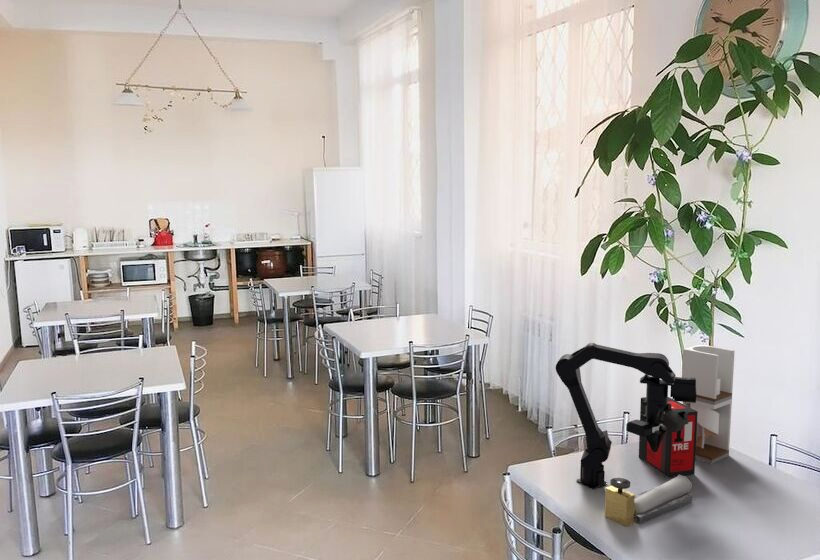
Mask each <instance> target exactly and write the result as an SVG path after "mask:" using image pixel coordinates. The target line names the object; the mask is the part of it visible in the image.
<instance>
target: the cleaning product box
mask: <svg viewBox="0 0 820 560" xmlns="http://www.w3.org/2000/svg"><path fill="white" fill-rule="evenodd" d="M643 401H646V396H645V397H644V396H643V397H640V409H639V410H640V411H639V420H640V421H643V422H647V421H646V420H645V419H642V415H645V414H646V406H645V405H643ZM667 403H671V409H672V410H673V411H674V412H676V411H677V412H678V413H679V412H680V411H686V412H687V413H688V424H686V425H684V428H683V430H682V431H681V430H680V431H677V432H675V433H673V432H671V431H669V432H667V433H666V434H665V435H664V437H663V439H662V441H661V444H660V446H659V449H658V451H657V452H652V450H651V447H650V445H649V443H648V441H647V439H646V437H643V436H639V435H638V440H639V442H638V458H639V459H640V460H641V461H643V462H645V463H646V464H647V465H648V466H650V467H652V468H653V469H654V470H656V471H658V472H659V473H661V474H662V475H663V476H665V477H667V478H668V479H673V478H675V477H677V476H678V475H682V476H685V477H688V476H695V474H696V472H695V471H696V470H695V469H696V459H695V455H696V434H697V414H698V411H696V410H694V409H692V408H690V407H688V406H686V405H684V404H683V402H680V401H674V399H673V398H672V397H669V396H668V402H667Z"/></svg>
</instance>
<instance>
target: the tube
mask: <svg viewBox="0 0 820 560" xmlns="http://www.w3.org/2000/svg"><path fill="white" fill-rule="evenodd" d="M651 489H652V490H651ZM651 489H649V490H650V491H648V490H647V491H648V492H646V493H644V494H642V495H641V496H639V497H637V498H635V501H634V504H635V507H636V513H635V516H634V518H636V515H638V514H641V513H643V512H646V511H648V510H651V509H654V508H656V507H659V506H661V505H664V504H666V503H669V502H671V501H674V500H676V499H679V498H681V496H682V497H683V496H685V495H688V493H690V492H691V491H692V482H691V481H690V480H689V478H688V476H682V475H678V476H677V477H672V478H671V479H669V480H668V481H665V482H664V483H661V484H660V485H657V486H656V487H654V489H653V488H651Z"/></svg>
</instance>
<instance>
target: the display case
mask: <svg viewBox="0 0 820 560" xmlns="http://www.w3.org/2000/svg"><path fill="white" fill-rule="evenodd" d="M681 364H682V365H681V366H682V367H681V377H682V378H696V403H691V402H682V404H684V405H686V406H688V407H690V408H692V409H694V410H696V411H698V414H697V434H696V455H695V460H698V461H702V462H705V463H708V464H710V465H712V464H714V463H716V462H718V461H721V460H722V459H724V458H727V457H729V456H730V442H731V441H730V440H731V427H732V426H731V423H732V421H731V420H732V408H733V407H732V405H733V403H732V401H733V388H734V387H733V386H734V385H733V384H734V369H735V350H734V349H728V348H723V347H718V346H717V347H716V346H712V345H707V344H697V345H693V346H690V347H687V348H682V363H681Z"/></svg>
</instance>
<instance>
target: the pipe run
mask: <svg viewBox="0 0 820 560" xmlns="http://www.w3.org/2000/svg"><path fill="white" fill-rule="evenodd" d="M630 487H631V481H630V480H629V479H627V478H622V477H614V478H611V479H610V486H608V487H605V497H604V498H605V503H604V517H605V516H606V517H605V518H607V519H609V520H612V521H613V522H616V523H618V524H619V525H620V526H623V527H629V526H632V525H634V523H636V524H638V525H642V524H644V523H647V522H649V521H652V520H654V519H656V518H657V519H658V518H659V517H661V516H664V515H666V514H669V513H671V512H674V511H676V510H678V509H681V508H683V507H686V506H688V505H690V504H692V503H693V495H690V494H685V495H683V496H682V497H681V496H680V497H679V498H677V499H675V500H673V501H671V502H669V503H666V504H664V505H661V506H659V507H656V508H654V509H651V510H648V511H646V512H643V513H641V514H638V515H636V517H635V513H636V507H635V504H634V501H635V498H637V497H639V496H641V495H642V494H644V493H646V492H648V491H650V490H652V489H654V488H655V487H654V488H651V489H649V490H646V491H643V492H640V493H637V494H634V493H632V492H629V491H628V490H626V489H628V488H630Z"/></svg>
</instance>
